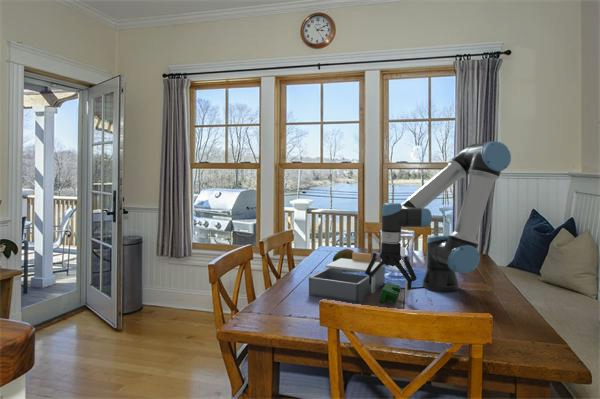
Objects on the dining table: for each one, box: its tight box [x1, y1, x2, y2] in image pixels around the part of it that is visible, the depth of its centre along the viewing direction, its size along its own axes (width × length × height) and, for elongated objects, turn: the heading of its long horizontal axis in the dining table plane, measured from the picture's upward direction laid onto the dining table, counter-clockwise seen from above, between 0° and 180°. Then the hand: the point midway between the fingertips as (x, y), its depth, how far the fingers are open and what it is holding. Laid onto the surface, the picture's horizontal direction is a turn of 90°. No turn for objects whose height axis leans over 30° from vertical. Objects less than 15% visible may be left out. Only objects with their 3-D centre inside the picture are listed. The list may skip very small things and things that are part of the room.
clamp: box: [378, 281, 402, 304], centre depth 156 cm, size 12×6×9 cm, turn 151°
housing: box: [308, 266, 386, 304], centre depth 173 cm, size 22×33×8 cm, turn 150°
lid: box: [325, 251, 386, 273], centre depth 179 cm, size 22×17×4 cm
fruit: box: [332, 248, 355, 262], centre depth 211 cm, size 12×13×10 cm
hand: (389, 295), depth 156 cm, fingers open, 13 cm apart
